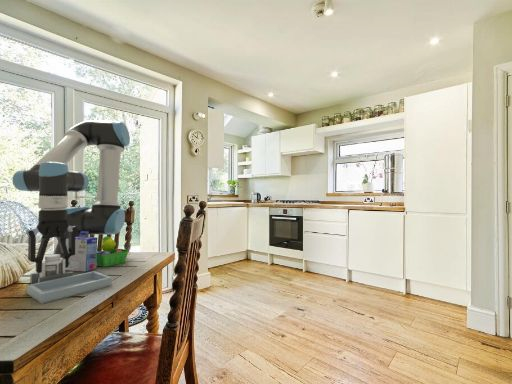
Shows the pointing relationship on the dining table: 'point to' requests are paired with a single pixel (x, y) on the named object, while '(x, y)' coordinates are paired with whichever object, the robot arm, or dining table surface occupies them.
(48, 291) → the parts tray
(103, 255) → the fruit basket
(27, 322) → the dining table surface
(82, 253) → the ink cartridge box
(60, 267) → the pill bottle
